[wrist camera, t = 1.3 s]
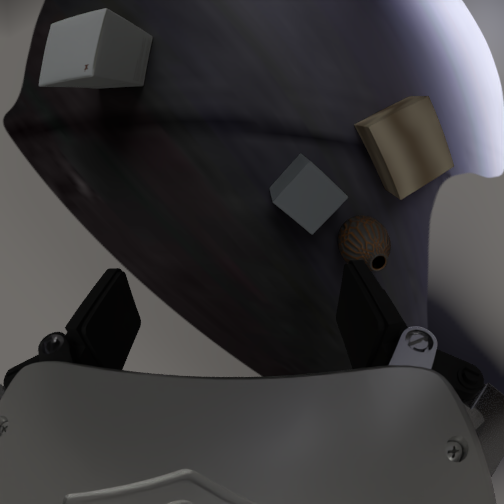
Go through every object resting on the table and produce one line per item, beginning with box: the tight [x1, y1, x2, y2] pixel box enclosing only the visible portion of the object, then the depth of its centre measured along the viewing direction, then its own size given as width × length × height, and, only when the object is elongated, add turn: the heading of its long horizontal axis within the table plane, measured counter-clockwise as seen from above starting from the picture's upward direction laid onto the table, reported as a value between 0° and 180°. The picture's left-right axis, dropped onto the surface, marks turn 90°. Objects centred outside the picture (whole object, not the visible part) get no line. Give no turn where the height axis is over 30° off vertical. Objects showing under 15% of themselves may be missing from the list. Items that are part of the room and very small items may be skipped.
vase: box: [338, 215, 391, 271], centre depth 33 cm, size 7×7×9 cm
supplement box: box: [39, 8, 153, 89], centre depth 20 cm, size 7×7×13 cm
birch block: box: [354, 96, 454, 200], centre depth 29 cm, size 10×10×5 cm
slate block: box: [269, 153, 348, 235], centre depth 31 cm, size 6×6×6 cm
